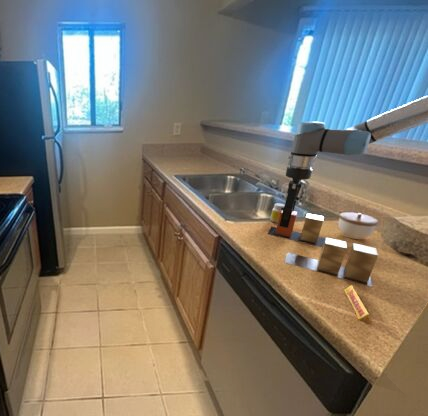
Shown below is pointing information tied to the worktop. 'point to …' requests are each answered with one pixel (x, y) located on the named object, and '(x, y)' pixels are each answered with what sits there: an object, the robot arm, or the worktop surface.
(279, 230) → the block
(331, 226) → the worktop surface
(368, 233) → the trinket box
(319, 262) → the tan upright block
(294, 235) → the mat
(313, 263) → the light grey flat rectangle
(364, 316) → the chocolate bar
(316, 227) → the O block
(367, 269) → the block
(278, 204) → the supplement bottle
